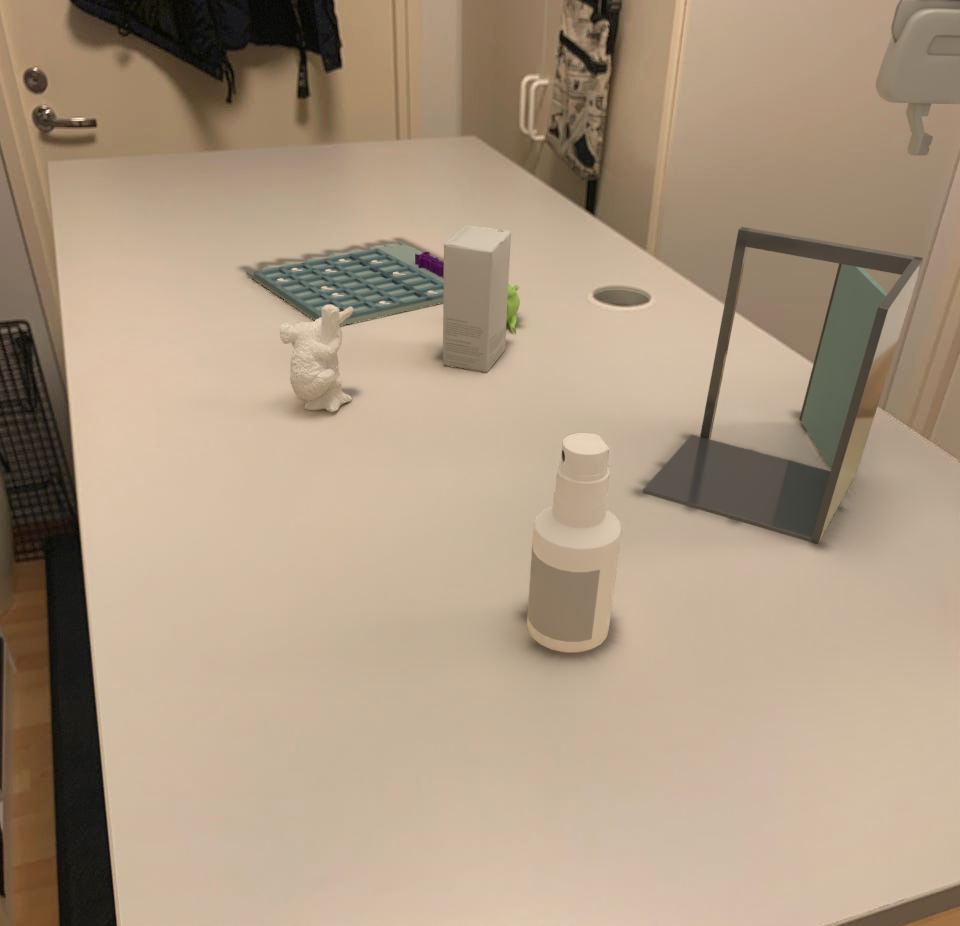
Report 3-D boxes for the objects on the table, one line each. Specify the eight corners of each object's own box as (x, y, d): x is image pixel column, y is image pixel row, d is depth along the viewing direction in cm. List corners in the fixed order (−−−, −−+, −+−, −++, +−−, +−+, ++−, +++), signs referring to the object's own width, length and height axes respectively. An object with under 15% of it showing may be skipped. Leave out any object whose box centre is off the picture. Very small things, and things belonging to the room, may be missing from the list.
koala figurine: (360, 392, 115) (353, 294, 108) (360, 417, 110) (353, 316, 103) (290, 394, 115) (279, 295, 107) (287, 419, 109) (275, 317, 102)
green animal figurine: (472, 330, 132) (473, 289, 128) (479, 316, 136) (480, 276, 132) (516, 334, 131) (518, 292, 127) (521, 320, 135) (523, 279, 132)
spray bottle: (518, 615, 82) (529, 425, 70) (594, 608, 83) (617, 419, 71) (536, 666, 76) (551, 469, 65) (617, 658, 77) (645, 462, 66)
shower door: (889, 477, 101) (949, 299, 89) (834, 476, 101) (887, 298, 89) (848, 419, 111) (897, 254, 99) (799, 419, 111) (841, 253, 99)
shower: (853, 484, 100) (923, 257, 86) (815, 553, 90) (888, 309, 75) (693, 441, 107) (732, 225, 92) (640, 501, 97) (675, 268, 82)
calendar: (245, 275, 148) (243, 260, 146) (398, 245, 161) (398, 231, 159) (327, 331, 131) (325, 314, 130) (491, 292, 144) (491, 276, 142)
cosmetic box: (463, 343, 128) (464, 223, 118) (509, 350, 126) (514, 229, 117) (440, 366, 122) (440, 241, 112) (489, 374, 120) (492, 248, 110)
